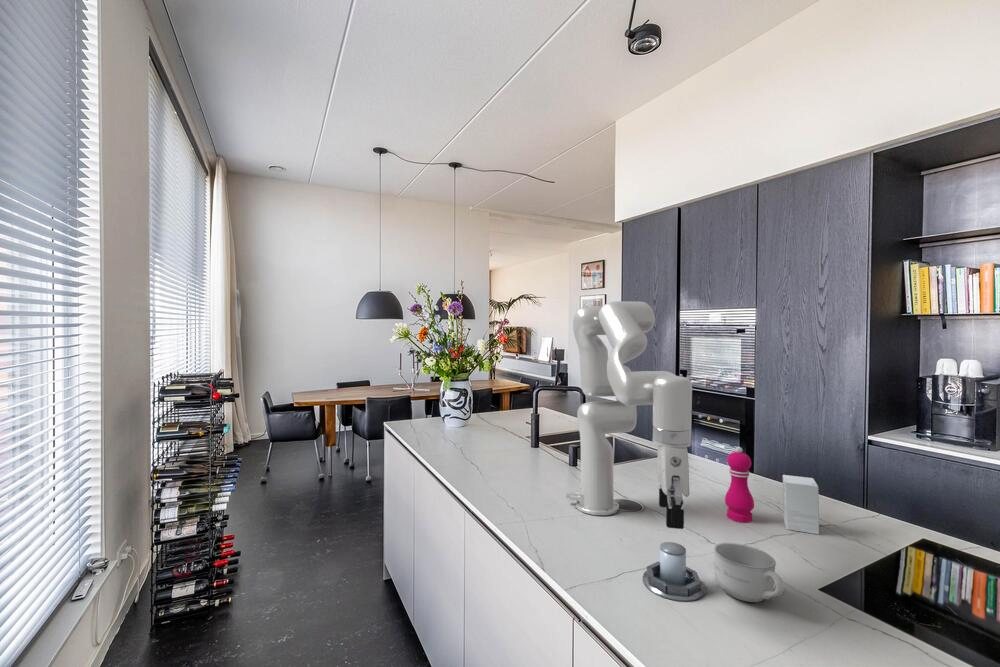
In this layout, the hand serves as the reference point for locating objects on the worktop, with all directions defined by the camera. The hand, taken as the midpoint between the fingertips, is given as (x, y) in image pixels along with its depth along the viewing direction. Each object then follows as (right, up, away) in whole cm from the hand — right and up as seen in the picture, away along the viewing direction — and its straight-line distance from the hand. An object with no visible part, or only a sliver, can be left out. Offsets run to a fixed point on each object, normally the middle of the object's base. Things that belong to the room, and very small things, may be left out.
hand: (670, 516), depth 92 cm
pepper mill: (+31, -14, +31) cm, 47 cm away
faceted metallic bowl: (0, -14, -1) cm, 14 cm away
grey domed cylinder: (0, -13, -1) cm, 13 cm away
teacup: (+13, -14, -6) cm, 20 cm away
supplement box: (+45, -14, +26) cm, 53 cm away
